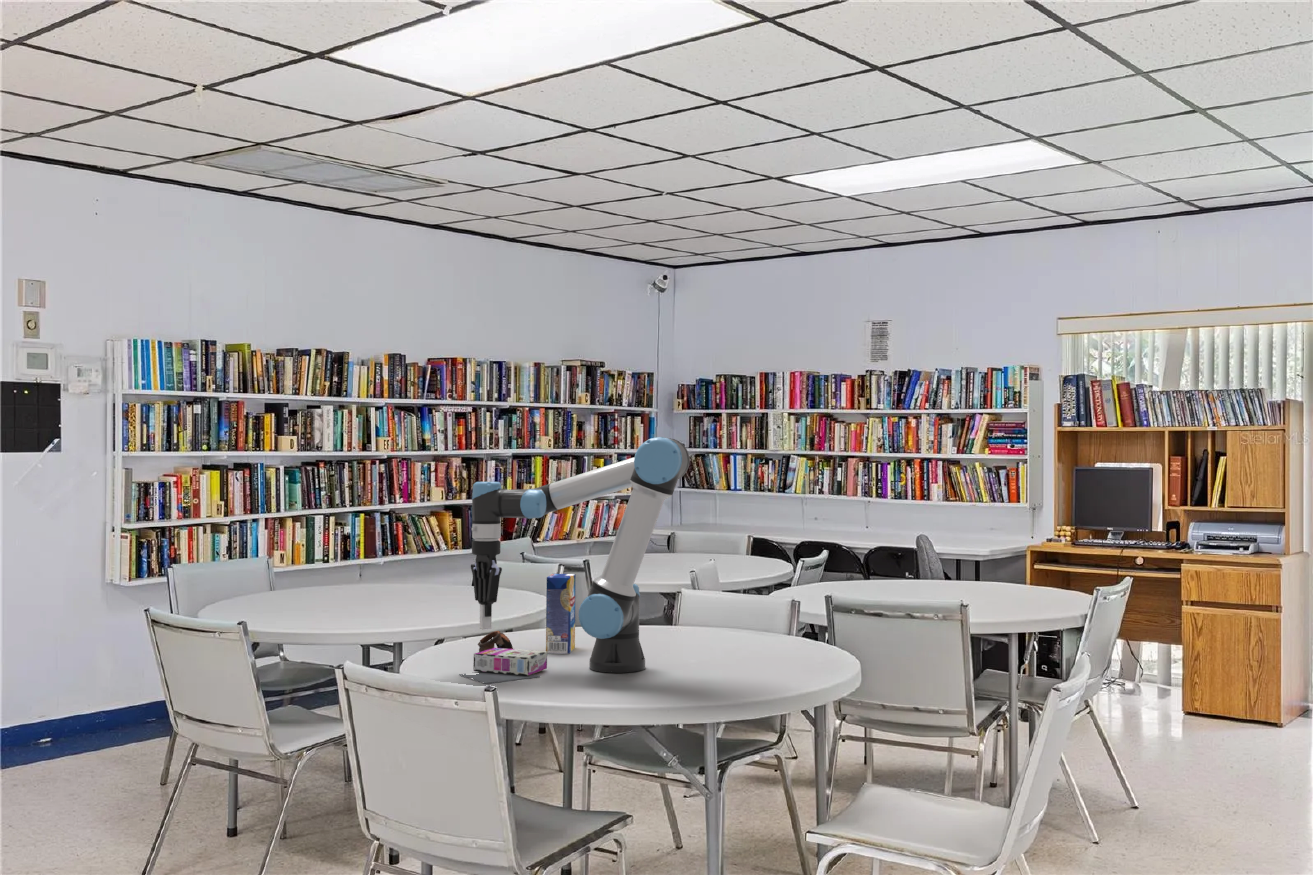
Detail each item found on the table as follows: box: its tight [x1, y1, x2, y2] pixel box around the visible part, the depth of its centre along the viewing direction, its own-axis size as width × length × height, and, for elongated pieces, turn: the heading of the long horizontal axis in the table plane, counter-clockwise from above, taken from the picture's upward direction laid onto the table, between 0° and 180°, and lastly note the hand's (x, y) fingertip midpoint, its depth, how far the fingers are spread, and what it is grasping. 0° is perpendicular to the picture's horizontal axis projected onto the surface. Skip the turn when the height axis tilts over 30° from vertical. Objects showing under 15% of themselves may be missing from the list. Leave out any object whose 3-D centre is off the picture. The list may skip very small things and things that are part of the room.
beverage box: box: [545, 573, 576, 655], centre depth 335 cm, size 7×11×22 cm, turn 175°
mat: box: [458, 671, 541, 685], centre depth 295 cm, size 14×16×1 cm
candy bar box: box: [472, 647, 548, 676], centre depth 301 cm, size 11×5×16 cm
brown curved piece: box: [477, 630, 514, 652], centre depth 325 cm, size 12×10×8 cm
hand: (485, 628), depth 301 cm, fingers closed
